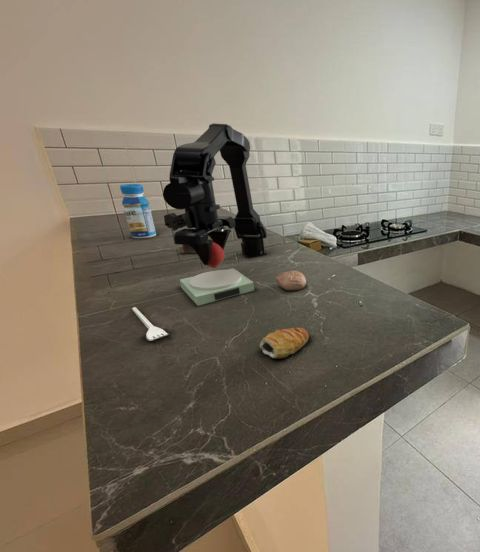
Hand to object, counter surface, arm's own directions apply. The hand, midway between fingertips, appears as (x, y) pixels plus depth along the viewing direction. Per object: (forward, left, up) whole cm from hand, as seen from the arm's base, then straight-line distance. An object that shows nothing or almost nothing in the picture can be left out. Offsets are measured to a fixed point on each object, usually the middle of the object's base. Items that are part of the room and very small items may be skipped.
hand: (213, 260), depth 86 cm
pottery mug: (-6, -39, -8) cm, 40 cm away
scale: (0, 0, -8) cm, 8 cm away
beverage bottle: (+4, -70, -8) cm, 71 cm away
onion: (0, 0, -2) cm, 2 cm away
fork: (+18, +10, -8) cm, 22 cm away
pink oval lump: (-16, +11, -8) cm, 21 cm away
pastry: (0, +37, -8) cm, 38 cm away
